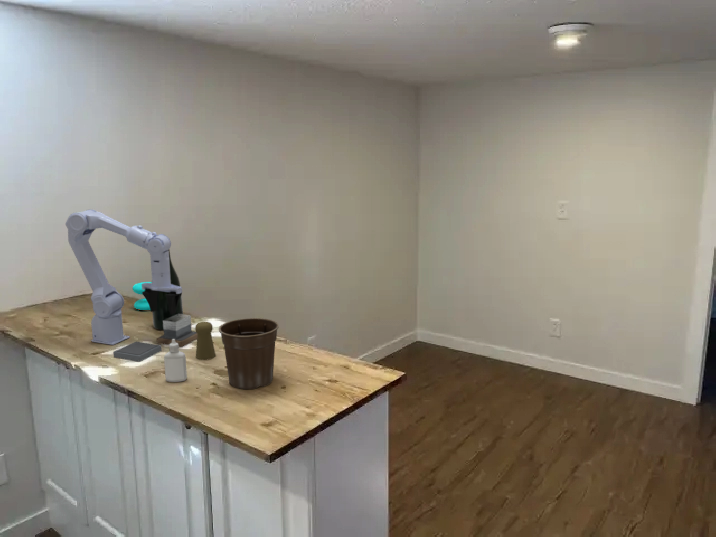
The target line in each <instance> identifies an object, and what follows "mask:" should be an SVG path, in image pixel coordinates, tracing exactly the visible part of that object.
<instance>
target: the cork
mask: <svg viewBox="0 0 716 537" xmlns="http://www.w3.org/2000/svg"><path fill="white" fill-rule="evenodd" d="M213 327H214V326H213V324H212V323H211V322H209V321H199V322H197V323H196V324H195V327H194V330H195V331H194V332H196V333H197V340H196V347H195V348H196V349H195V359H196V360H199V361H207V359H208V360H211V359H214V358H215V357H216V351H215V346H214V341H213V336H212V332H213Z"/></svg>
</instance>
